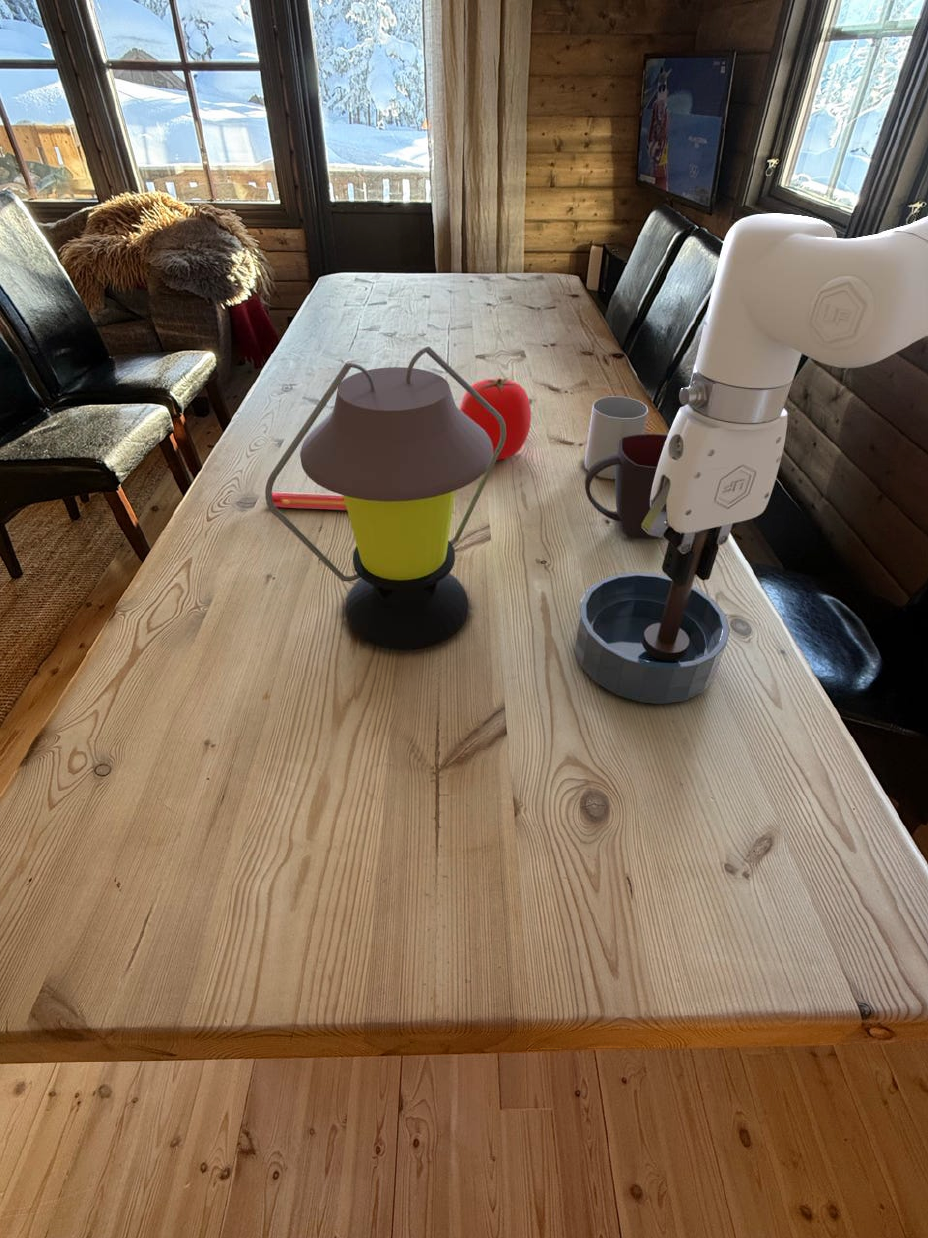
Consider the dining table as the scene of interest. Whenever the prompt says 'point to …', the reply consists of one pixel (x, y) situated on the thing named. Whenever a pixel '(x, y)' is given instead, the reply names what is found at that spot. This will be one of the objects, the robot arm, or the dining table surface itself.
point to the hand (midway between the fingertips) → (685, 574)
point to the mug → (631, 481)
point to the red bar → (309, 501)
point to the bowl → (616, 634)
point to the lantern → (397, 495)
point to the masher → (674, 614)
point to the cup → (612, 428)
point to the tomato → (508, 404)
